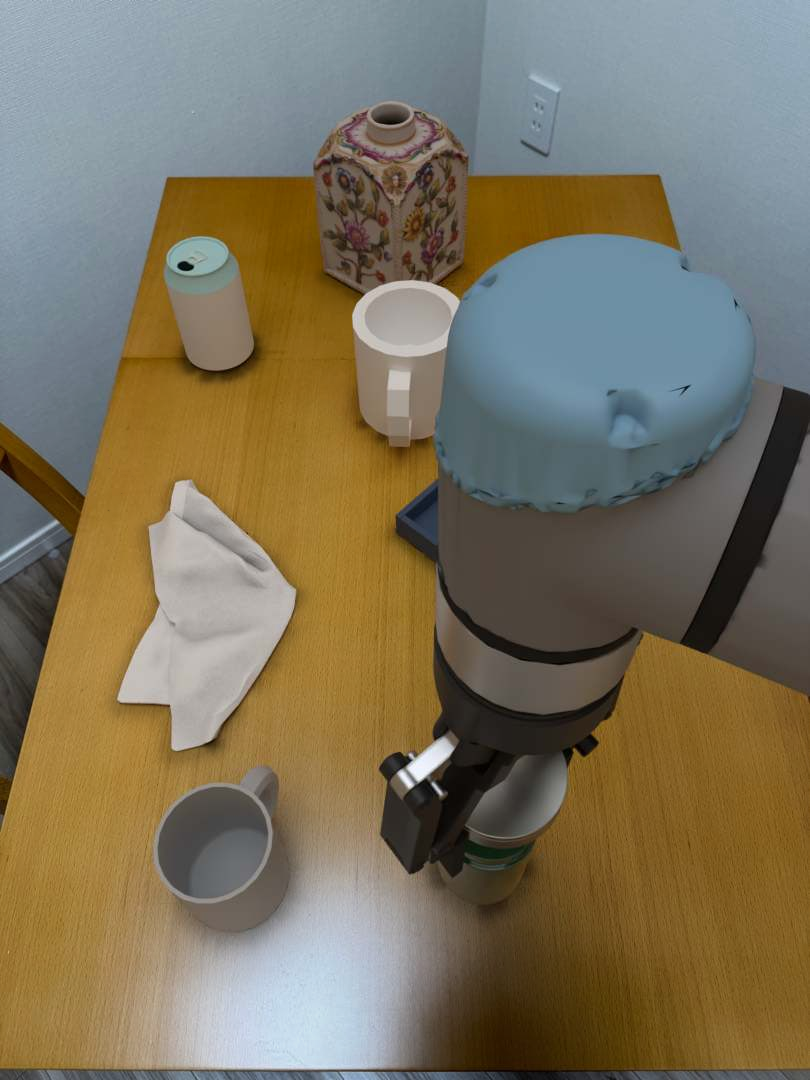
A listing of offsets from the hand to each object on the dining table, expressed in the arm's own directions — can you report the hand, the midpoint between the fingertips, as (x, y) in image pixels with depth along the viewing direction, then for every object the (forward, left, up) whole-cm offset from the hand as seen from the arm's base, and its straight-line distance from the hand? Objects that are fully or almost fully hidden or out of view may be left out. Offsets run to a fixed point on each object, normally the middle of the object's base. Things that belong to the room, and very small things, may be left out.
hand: (492, 815), depth 51 cm
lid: (0, 0, +7) cm, 7 cm away
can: (+53, -21, -10) cm, 58 cm away
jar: (0, 0, -10) cm, 10 cm away
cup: (+12, +11, -10) cm, 19 cm away
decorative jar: (+49, -43, -10) cm, 66 cm away
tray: (+17, -22, -10) cm, 30 cm away
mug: (+33, -28, -10) cm, 45 cm away
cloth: (+30, -1, -10) cm, 32 cm away
